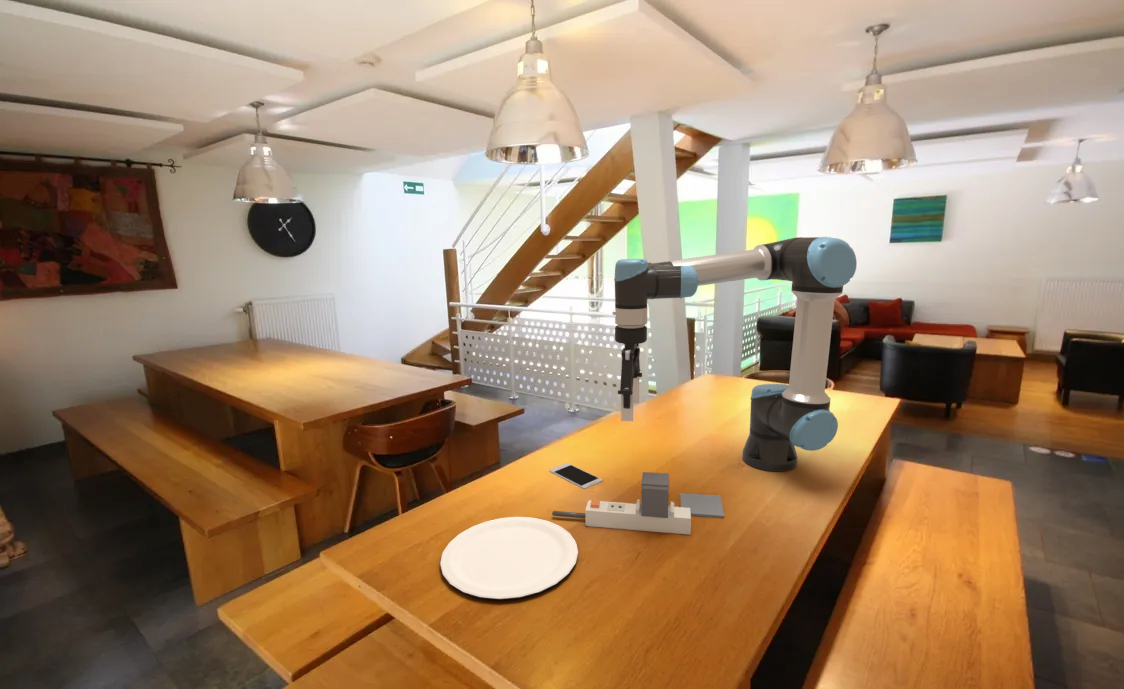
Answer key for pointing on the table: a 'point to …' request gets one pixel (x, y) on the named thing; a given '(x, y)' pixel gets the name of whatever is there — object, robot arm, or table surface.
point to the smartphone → (576, 476)
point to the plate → (509, 558)
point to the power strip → (632, 517)
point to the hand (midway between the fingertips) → (630, 411)
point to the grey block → (654, 494)
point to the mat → (702, 505)
